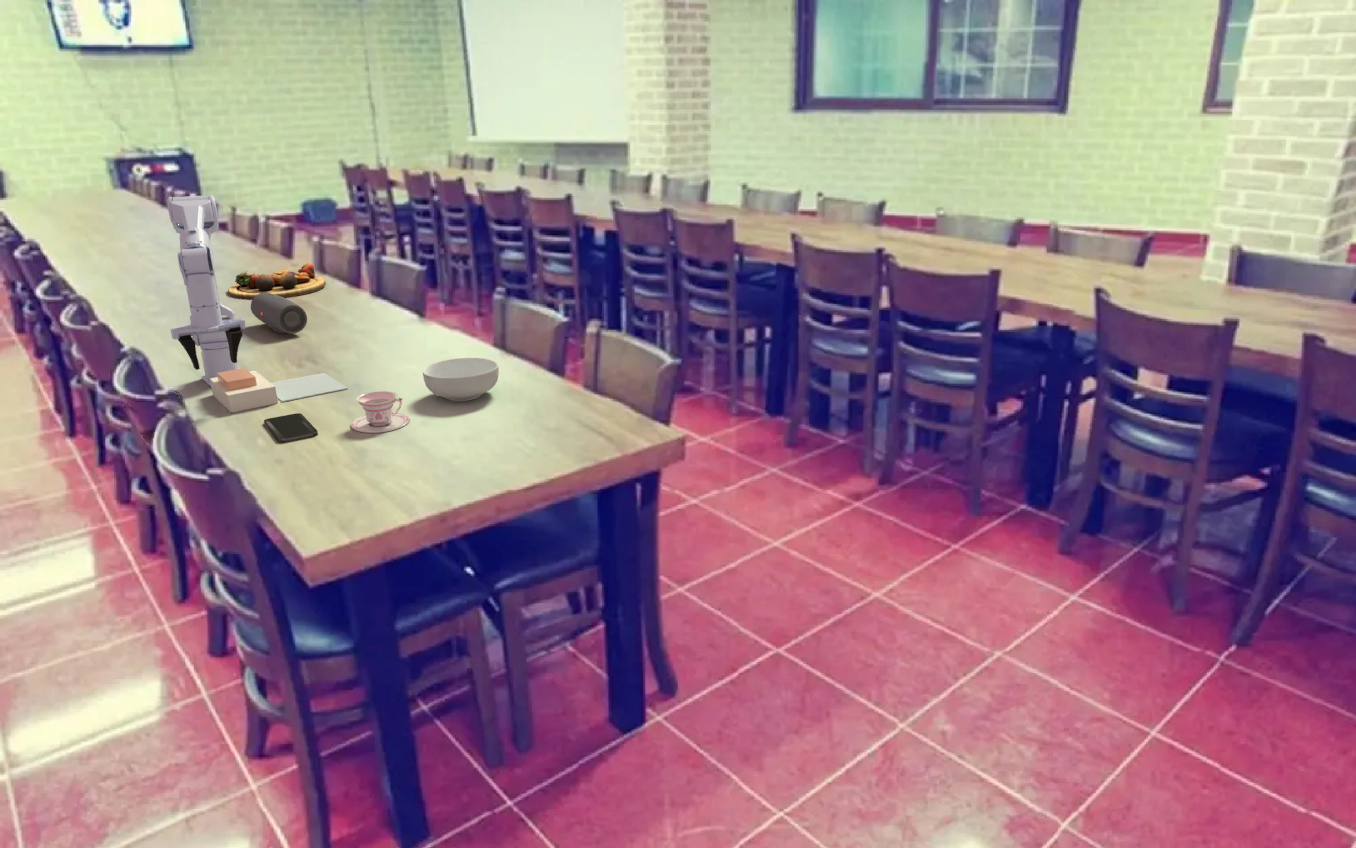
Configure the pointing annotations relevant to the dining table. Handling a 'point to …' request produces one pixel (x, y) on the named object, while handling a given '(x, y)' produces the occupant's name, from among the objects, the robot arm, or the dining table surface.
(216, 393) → the cream rectangular block
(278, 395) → the mat
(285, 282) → the wooden plate with food
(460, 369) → the cereal bowl
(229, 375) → the terracotta tile
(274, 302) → the bluetooth speaker
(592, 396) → the dining table surface
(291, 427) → the phone
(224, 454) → the dining table surface
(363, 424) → the teacup
